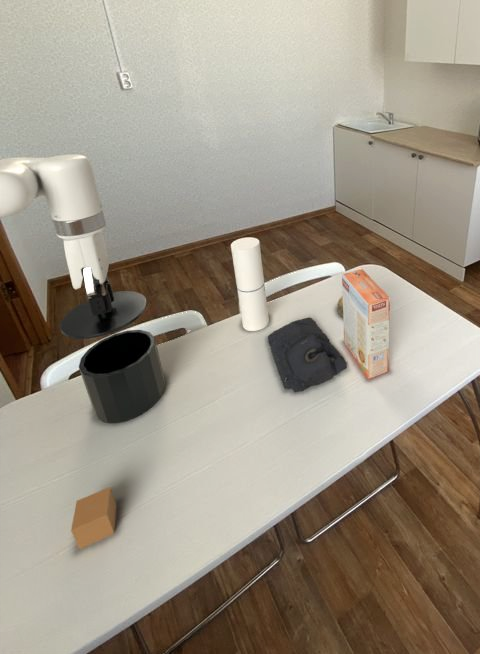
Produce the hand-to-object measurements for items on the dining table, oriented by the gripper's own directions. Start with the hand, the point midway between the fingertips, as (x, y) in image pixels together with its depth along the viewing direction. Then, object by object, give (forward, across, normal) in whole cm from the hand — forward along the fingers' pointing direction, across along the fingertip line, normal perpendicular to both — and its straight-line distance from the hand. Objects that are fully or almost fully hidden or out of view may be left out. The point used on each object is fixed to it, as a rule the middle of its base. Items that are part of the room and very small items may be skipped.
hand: (103, 307), depth 76 cm
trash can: (+24, 0, 0) cm, 24 cm away
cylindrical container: (+24, -13, +31) cm, 41 cm away
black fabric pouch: (+24, +5, +39) cm, 46 cm away
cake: (+23, -5, +58) cm, 62 cm away
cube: (+24, +26, -3) cm, 35 cm away
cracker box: (+23, +13, +52) cm, 58 cm away
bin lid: (+2, 0, 0) cm, 2 cm away
